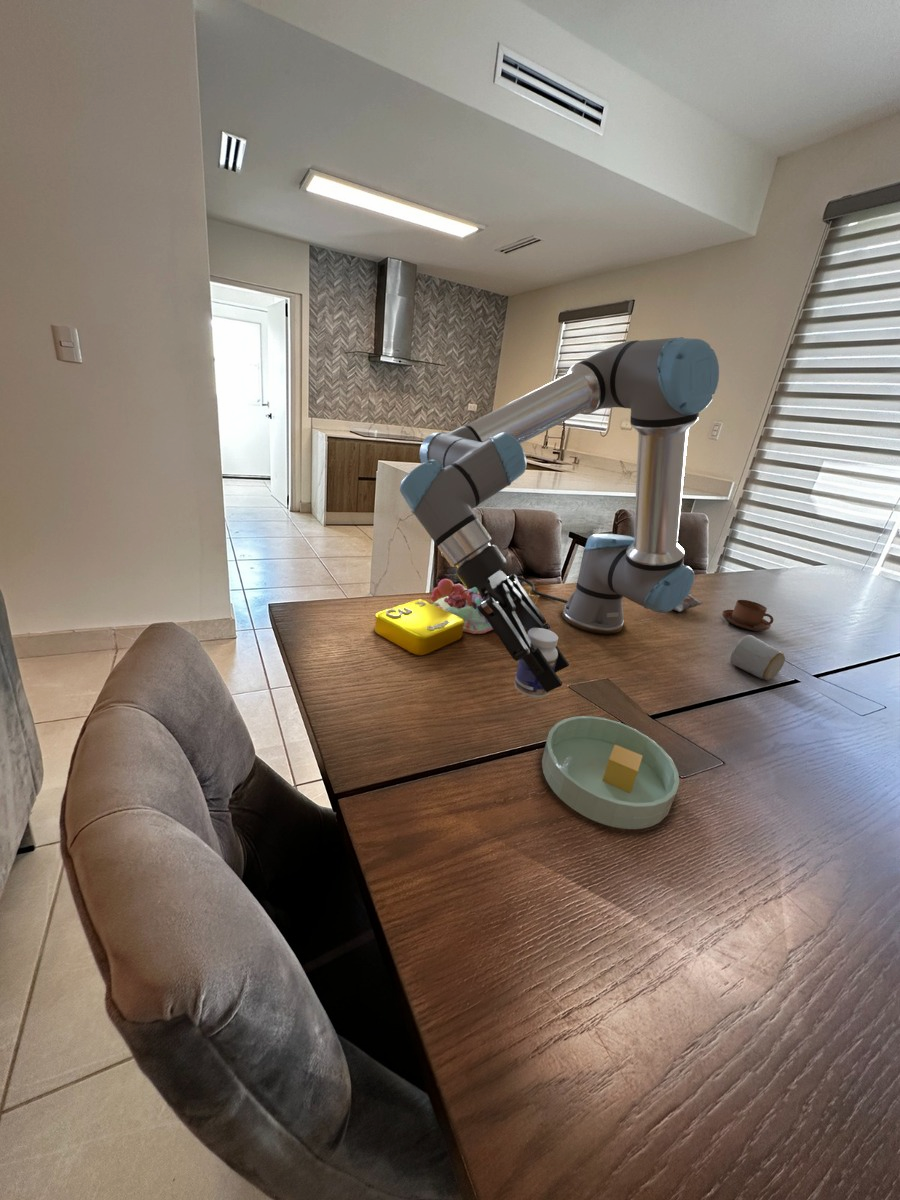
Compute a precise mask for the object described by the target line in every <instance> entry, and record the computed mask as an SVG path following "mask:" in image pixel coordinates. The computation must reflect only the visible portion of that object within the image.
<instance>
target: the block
mask: <svg viewBox="0 0 900 1200" xmlns="http://www.w3.org/2000/svg"><path fill="white" fill-rule="evenodd" d="M642 757H643V756H642V755H640V754H637V753H635V752H633V751H630V750H628V749H625V748H623V747H620V746H618V745H616V744H615V745H614V748H613V750H612V753H611V755H610V758H609V761H608V764H607V767H606V770H605V773H604V777H603V780H602V781H604V782H606V783H608V784H610V785H613V786H615V787H617V788H619V789H622V790H624V791H626V792H628V793H631V791H632V788H633V785H634V782H635V779H636V776H637V773H638V770H639V767H640V764H641V760H642Z"/></svg>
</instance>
